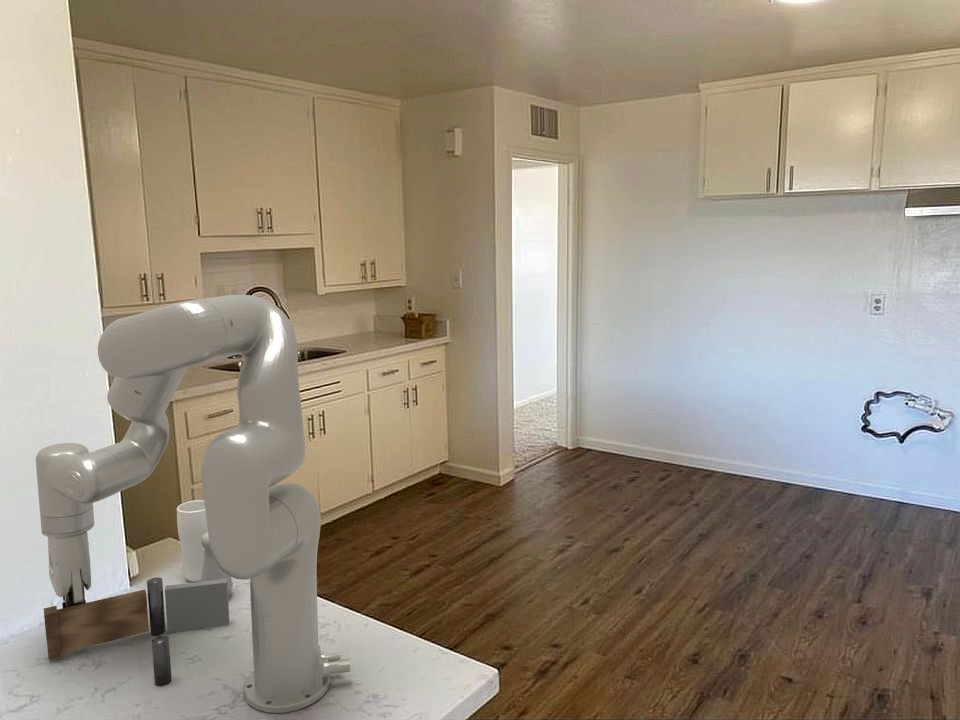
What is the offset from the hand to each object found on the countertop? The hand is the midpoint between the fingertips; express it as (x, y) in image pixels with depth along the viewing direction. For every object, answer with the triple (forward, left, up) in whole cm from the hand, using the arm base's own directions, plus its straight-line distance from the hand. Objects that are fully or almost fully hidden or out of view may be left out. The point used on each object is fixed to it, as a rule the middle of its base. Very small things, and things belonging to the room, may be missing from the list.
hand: (75, 623), depth 121 cm
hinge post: (-13, 0, -4) cm, 13 cm away
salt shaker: (-22, -10, -4) cm, 24 cm away
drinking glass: (-18, -20, -4) cm, 27 cm away
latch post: (-15, +16, -4) cm, 22 cm away
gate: (-4, +3, -3) cm, 6 cm away
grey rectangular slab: (-19, 0, -4) cm, 19 cm away
